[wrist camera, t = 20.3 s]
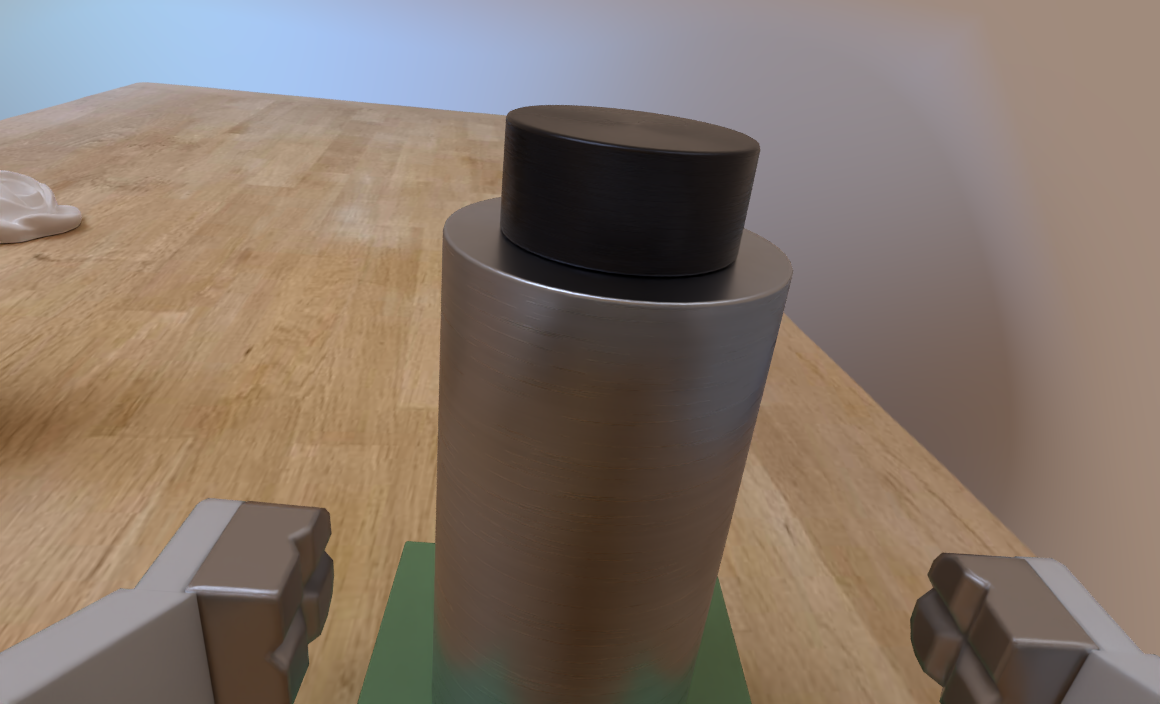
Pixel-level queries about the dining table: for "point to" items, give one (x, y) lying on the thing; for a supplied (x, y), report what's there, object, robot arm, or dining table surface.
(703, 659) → the green block
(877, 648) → the dining table surface
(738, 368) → the flask
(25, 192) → the rose
